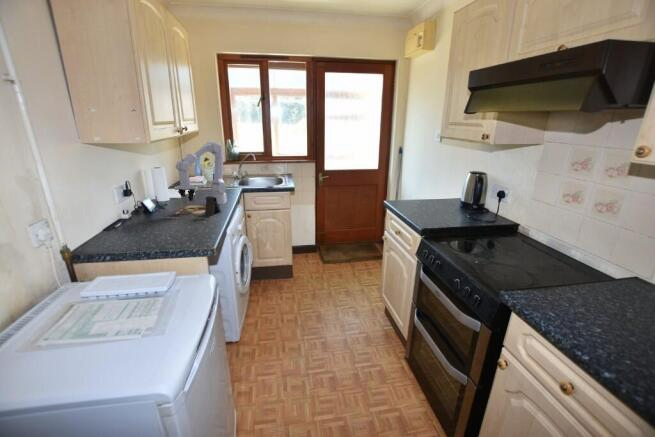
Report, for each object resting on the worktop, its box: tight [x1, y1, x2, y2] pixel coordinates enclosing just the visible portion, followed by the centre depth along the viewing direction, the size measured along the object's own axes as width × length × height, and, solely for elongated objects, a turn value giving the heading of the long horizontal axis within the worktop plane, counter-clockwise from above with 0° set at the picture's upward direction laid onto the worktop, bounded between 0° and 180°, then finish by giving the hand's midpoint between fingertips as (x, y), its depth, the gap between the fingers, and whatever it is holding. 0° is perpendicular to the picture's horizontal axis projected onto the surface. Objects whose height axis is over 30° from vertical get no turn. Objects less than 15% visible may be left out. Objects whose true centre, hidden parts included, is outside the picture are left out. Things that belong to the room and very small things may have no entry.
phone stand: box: [204, 196, 222, 217], centre depth 191 cm, size 9×6×12 cm, turn 158°
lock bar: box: [180, 193, 195, 205], centre depth 194 cm, size 8×4×5 cm, turn 176°
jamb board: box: [174, 205, 206, 215], centre depth 201 cm, size 18×18×2 cm
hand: (188, 200), depth 195 cm, fingers closed on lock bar, 4 cm apart
